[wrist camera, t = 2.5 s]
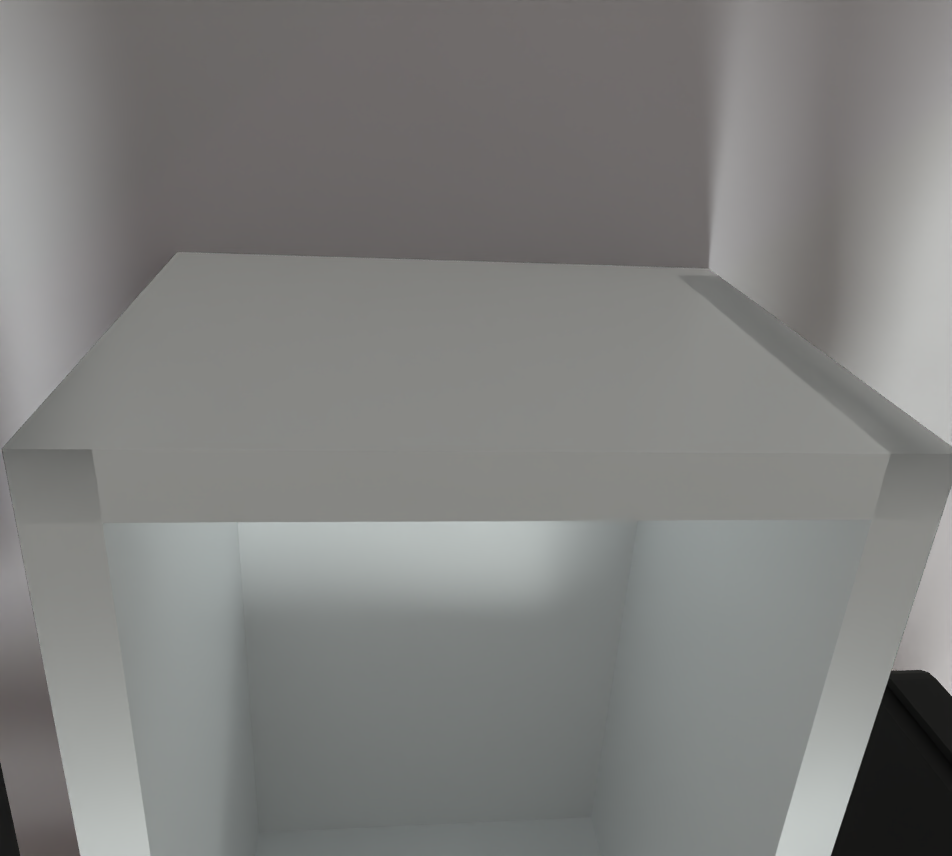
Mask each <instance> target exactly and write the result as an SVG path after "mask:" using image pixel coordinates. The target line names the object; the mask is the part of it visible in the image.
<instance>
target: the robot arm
mask: <svg viewBox="0 0 952 856" xmlns="http://www.w3.org/2000/svg"><path fill="white" fill-rule="evenodd" d="M0 856H20V853H19V848H18V843H17V839H16V834H15V829H14V825H13V820H12V815H11V811H10V806H9V801H8V797H7V792H6V787H5V783H4V778H3V773H2V769H1V764H0ZM831 856H952V696H951V695H950V694H949V693H948V692H947V691H946V689H945V688H944V687H943V686H942V685H941V684H940V683H939V682H938V681H937V679H936V678H934V677H933V676H932V675H931V674H930V673H928V672H925V671H922V670H906V671H891V673H890V676H889V679H888V682H887V685H886V688H885V691H884V694H883V697H882V700H881V703H880V706H879V709H878V712H877V716H876V719H875V722H874V725H873V728H872V731H871V734H870V737H869V740H868V743H867V746H866V749H865V752H864V755H863V758H862V761H861V765H860V768H859V771H858V774H857V777H856V780H855V783H854V786H853V789H852V792H851V795H850V798H849V801H848V804H847V807H846V810H845V814H844V817H843V820H842V823H841V826H840V829H839V832H838V835H837V838H836V841H835V844H834V847H833V850H832V853H831Z"/></svg>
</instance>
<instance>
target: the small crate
mask: <svg viewBox="0 0 952 856" xmlns="http://www.w3.org/2000/svg"><path fill="white" fill-rule="evenodd" d="M2 453H3V459H4V464H5V469H6V474H7V479H8V484H9V490H10V495H11V500H12V505H13V510H14V515H15V521H16V526H17V531H18V536H19V541H20V547H21V552H22V557H23V562H24V567H25V572H26V578H27V583H28V588H29V593H30V598H31V603H32V609H33V614H34V619H35V624H36V629H37V635H38V640H39V645H40V650H41V655H42V660H43V666H44V671H45V676H46V681H47V686H48V691H49V697H50V702H51V707H52V712H53V717H54V722H55V728H56V733H57V738H58V743H59V748H60V754H61V759H62V764H63V769H64V774H65V779H66V785H67V790H68V795H69V800H70V805H71V810H72V816H73V821H74V826H75V831H76V836H77V842H78V847H79V852H80V856H831V853H832V850H833V847H834V844H835V841H836V838H837V835H838V832H839V829H840V826H841V823H842V820H843V817H844V814H845V810H846V807H847V804H848V801H849V798H850V795H851V792H852V789H853V786H854V783H855V780H856V777H857V774H858V771H859V768H860V765H861V761H862V758H863V755H864V752H865V749H866V746H867V743H868V740H869V737H870V734H871V731H872V728H873V725H874V722H875V719H876V716H877V712H878V709H879V706H880V703H881V700H882V697H883V694H884V691H885V688H886V685H887V682H888V679H889V676H890V673H891V670H892V667H893V663H894V660H895V657H896V654H897V651H898V648H899V645H900V642H901V639H902V636H903V633H904V630H905V627H906V624H907V621H908V618H909V614H910V611H911V608H912V605H913V602H914V599H915V596H916V593H917V590H918V587H919V584H920V581H921V578H922V575H923V572H924V569H925V565H926V562H927V559H928V556H929V553H930V550H931V547H932V544H933V541H934V538H935V535H936V532H937V529H938V526H939V523H940V520H941V516H942V513H943V510H944V507H945V504H946V501H947V498H948V495H949V492H950V489H951V486H952V446H950V445H949V444H947V443H946V442H945V441H943V440H942V439H941V438H939V437H938V436H937V435H935V434H934V433H932V432H931V431H930V430H928V429H927V428H926V427H924V426H923V425H922V424H920V423H919V422H917V421H916V420H915V419H913V418H912V417H911V416H909V415H908V414H907V413H905V412H904V411H902V410H901V409H900V408H898V407H897V406H896V405H894V404H893V403H892V402H890V401H889V400H887V399H886V398H885V397H883V396H882V395H881V394H879V393H878V392H877V391H875V390H874V389H872V388H871V387H870V386H868V385H867V384H866V383H864V382H863V381H862V380H860V379H859V378H857V377H856V376H855V375H853V374H852V373H851V372H849V371H848V370H847V369H845V368H844V367H842V366H841V365H840V364H838V363H837V362H836V361H834V360H833V359H832V358H830V357H829V356H827V355H826V354H825V353H823V352H822V351H821V350H819V349H818V348H817V347H815V346H814V345H812V344H811V343H810V342H808V341H807V340H806V339H804V338H803V337H802V336H800V335H799V334H797V333H796V332H795V331H793V330H792V329H791V328H789V327H788V326H787V325H785V324H784V323H782V322H781V321H780V320H778V319H777V318H776V317H774V316H773V315H772V314H770V313H769V312H767V311H766V310H765V309H763V308H762V307H761V306H759V305H758V304H757V303H755V302H754V301H752V300H751V299H750V298H748V297H747V296H746V295H744V294H743V293H741V292H740V291H739V290H737V289H736V288H735V287H733V286H732V285H731V284H729V283H728V282H726V281H725V280H724V279H722V278H721V277H720V276H718V275H717V274H716V273H714V272H713V271H711V270H710V269H709V268H678V267H646V266H614V265H582V264H549V263H517V262H485V261H453V260H421V259H389V258H357V257H325V256H292V255H260V254H228V253H196V252H177V253H176V254H175V255H174V256H173V257H172V259H171V260H170V261H169V262H168V263H167V264H166V265H165V266H164V268H163V269H162V270H161V271H160V272H159V273H158V274H157V275H156V277H155V278H154V279H153V280H152V281H151V282H150V283H149V284H148V286H147V287H146V288H145V289H144V290H143V291H142V292H141V293H140V294H139V296H138V297H137V298H136V299H135V300H134V301H133V302H132V303H131V305H130V306H129V307H128V308H127V309H126V310H125V311H124V312H123V314H122V315H121V316H120V317H119V318H118V319H117V320H116V321H115V322H114V324H113V325H112V326H111V327H110V328H109V329H108V330H107V331H106V333H105V334H104V335H103V336H102V337H101V338H100V339H99V340H98V342H97V343H96V344H95V345H94V346H93V347H92V348H91V349H90V351H89V352H88V353H87V354H86V355H85V356H84V357H83V358H82V359H81V361H80V362H79V363H78V364H77V365H76V366H75V367H74V368H73V370H72V371H71V372H70V373H69V374H68V375H67V376H66V377H65V379H64V380H63V381H62V382H61V383H60V384H59V385H58V386H57V387H56V389H55V390H54V391H53V392H52V393H51V394H50V395H49V396H48V398H47V399H46V400H45V401H44V402H43V403H42V404H41V405H40V407H39V408H38V409H37V410H36V411H35V412H34V413H33V414H32V416H31V417H30V418H29V419H28V420H27V421H26V422H25V423H24V424H23V426H22V427H21V428H20V429H19V430H18V431H17V432H16V433H15V435H14V436H13V437H12V438H11V439H10V440H9V441H8V442H7V444H6V445H5V446H4V447H3V448H2Z"/></svg>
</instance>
